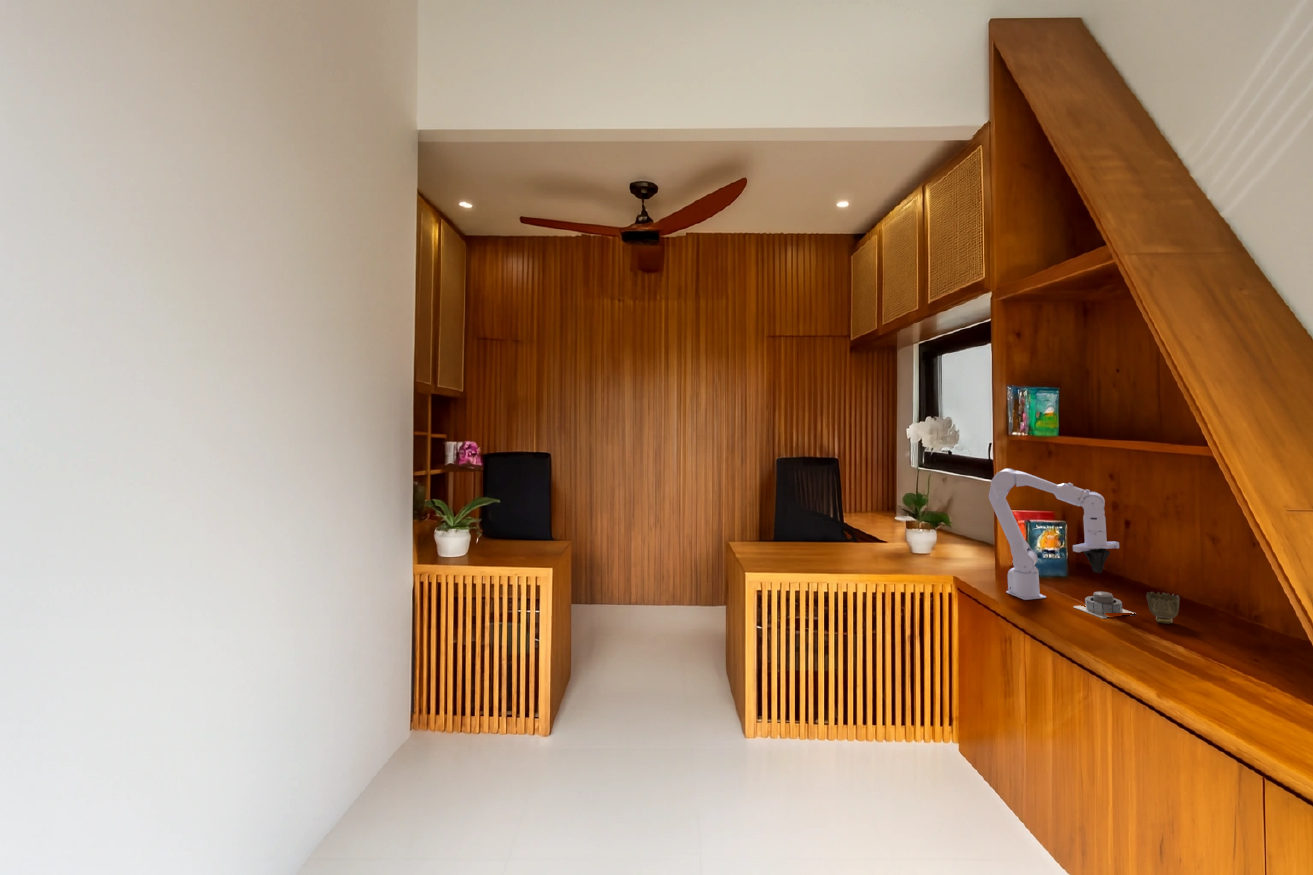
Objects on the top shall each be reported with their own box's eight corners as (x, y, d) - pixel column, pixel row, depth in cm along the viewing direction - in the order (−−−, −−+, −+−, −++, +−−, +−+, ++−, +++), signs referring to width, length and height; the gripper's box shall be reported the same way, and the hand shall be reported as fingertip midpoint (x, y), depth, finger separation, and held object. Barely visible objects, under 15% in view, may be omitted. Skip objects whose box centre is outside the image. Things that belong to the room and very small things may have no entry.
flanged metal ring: (1073, 607, 187) (1072, 596, 187) (1104, 604, 188) (1104, 593, 188) (1102, 618, 176) (1102, 607, 176) (1136, 614, 177) (1135, 603, 177)
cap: (1089, 608, 184) (1089, 592, 184) (1103, 606, 185) (1102, 590, 185) (1104, 612, 179) (1103, 596, 179) (1118, 610, 180) (1117, 594, 180)
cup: (1178, 628, 165) (1176, 600, 164) (1145, 623, 170) (1143, 595, 170) (1183, 621, 169) (1182, 594, 169) (1150, 616, 175) (1149, 589, 175)
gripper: (1084, 534, 183) (1087, 577, 184) (1126, 530, 185) (1129, 572, 185) (1066, 530, 190) (1069, 571, 191) (1107, 526, 192) (1109, 567, 192)
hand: (1097, 572), depth 188 cm, fingers closed
